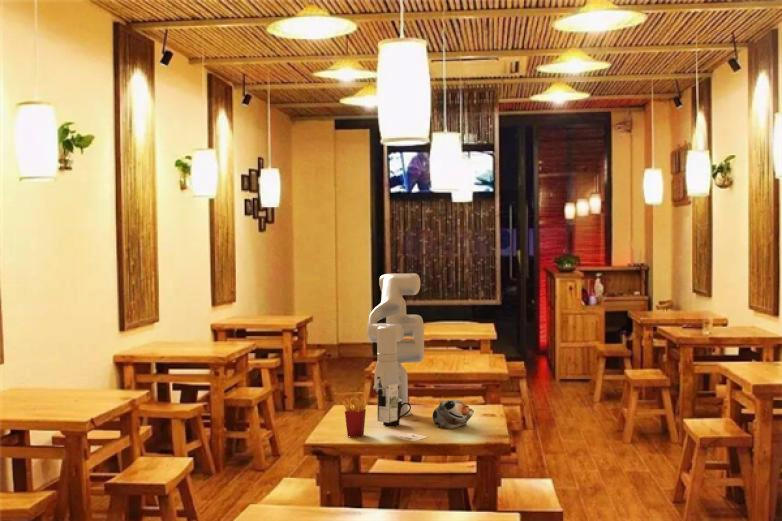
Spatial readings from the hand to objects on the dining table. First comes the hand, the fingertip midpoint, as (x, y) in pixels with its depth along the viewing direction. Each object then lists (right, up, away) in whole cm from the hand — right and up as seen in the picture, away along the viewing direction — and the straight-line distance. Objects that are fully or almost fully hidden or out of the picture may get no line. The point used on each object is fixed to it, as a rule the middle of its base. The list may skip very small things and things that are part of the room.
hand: (387, 404), depth 343 cm
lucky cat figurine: (+26, -11, +14) cm, 32 cm away
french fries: (-13, -12, +1) cm, 18 cm away
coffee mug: (+3, -11, +18) cm, 21 cm away
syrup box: (0, -7, 0) cm, 7 cm away
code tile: (+9, -12, -4) cm, 16 cm away
